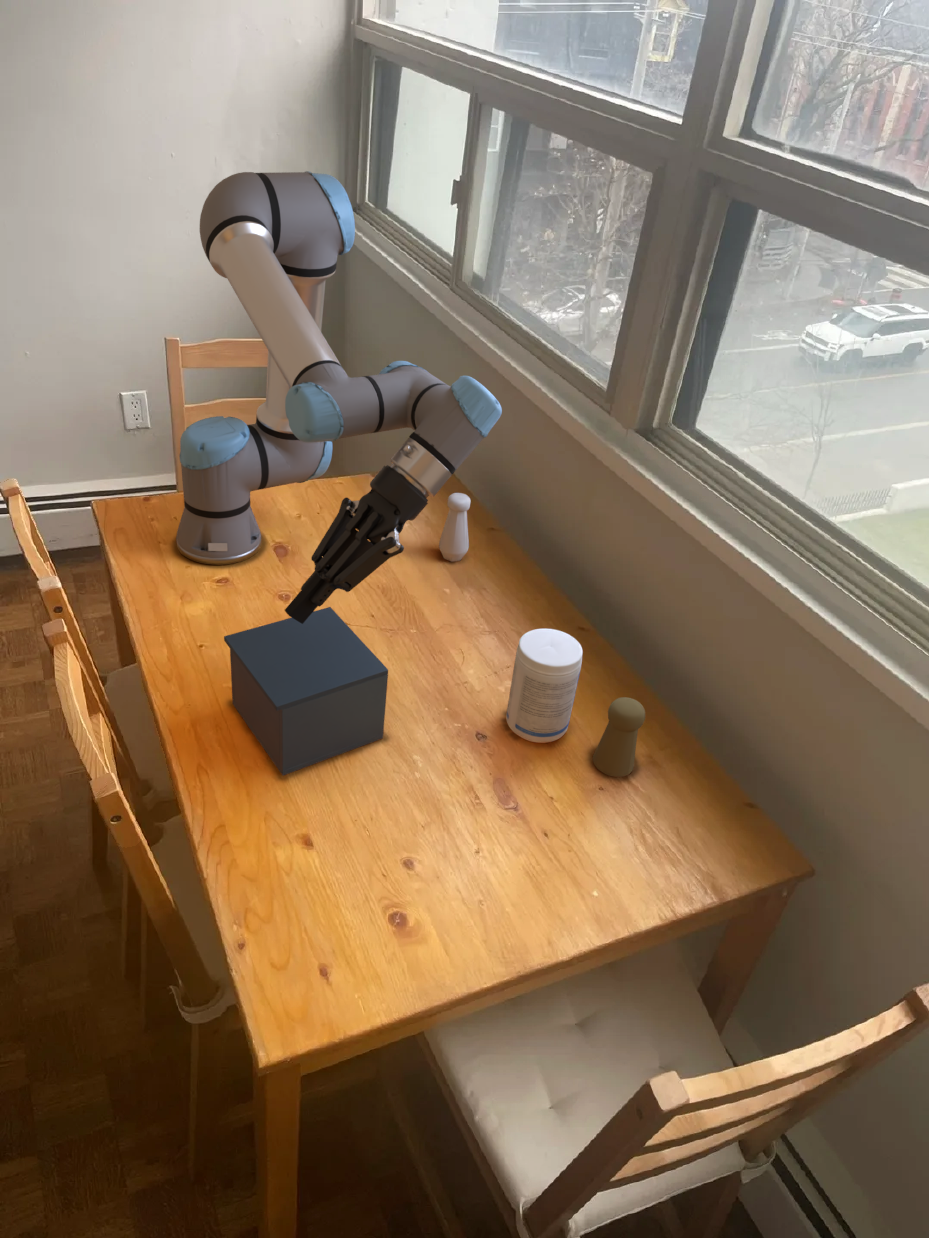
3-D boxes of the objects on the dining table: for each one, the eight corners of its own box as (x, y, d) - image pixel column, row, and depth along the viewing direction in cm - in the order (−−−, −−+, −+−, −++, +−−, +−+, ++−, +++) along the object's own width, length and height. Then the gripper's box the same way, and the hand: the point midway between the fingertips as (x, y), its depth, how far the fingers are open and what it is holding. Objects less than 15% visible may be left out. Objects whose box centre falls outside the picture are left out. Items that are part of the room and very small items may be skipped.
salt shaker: (471, 562, 173) (480, 502, 166) (444, 565, 171) (451, 505, 164) (460, 547, 178) (468, 487, 170) (433, 549, 176) (439, 490, 168)
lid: (276, 711, 115) (276, 706, 115) (223, 640, 126) (223, 636, 125) (388, 674, 124) (388, 669, 123) (330, 610, 134) (330, 606, 134)
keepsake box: (282, 776, 122) (282, 709, 116) (232, 704, 133) (229, 639, 126) (383, 738, 131) (388, 674, 124) (328, 673, 141) (330, 611, 134)
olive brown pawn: (585, 751, 133) (600, 694, 127) (621, 744, 135) (637, 688, 129) (604, 780, 129) (620, 722, 122) (641, 772, 131) (658, 715, 124)
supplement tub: (579, 733, 136) (598, 656, 128) (530, 753, 131) (546, 675, 123) (540, 696, 142) (556, 620, 134) (492, 714, 138) (505, 636, 129)
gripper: (367, 446, 120) (253, 580, 121) (420, 488, 112) (297, 632, 112) (398, 475, 126) (289, 603, 126) (451, 517, 117) (334, 654, 118)
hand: (293, 617), depth 119 cm, fingers closed
